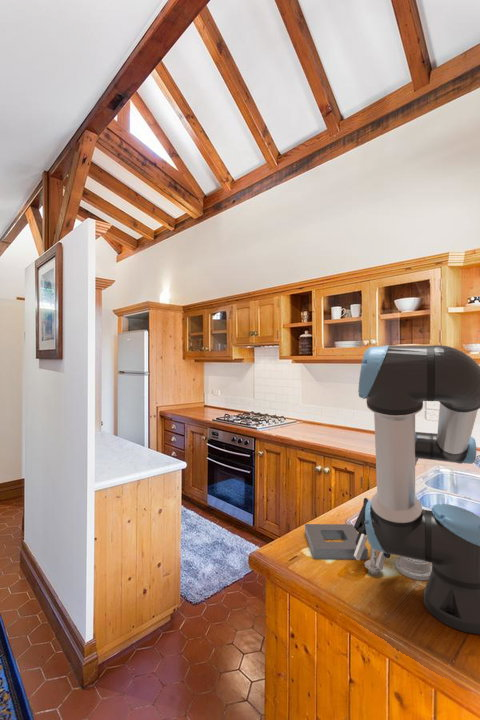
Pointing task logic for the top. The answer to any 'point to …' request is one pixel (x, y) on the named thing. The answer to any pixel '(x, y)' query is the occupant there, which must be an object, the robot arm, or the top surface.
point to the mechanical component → (413, 568)
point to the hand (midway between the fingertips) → (367, 562)
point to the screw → (372, 562)
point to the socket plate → (333, 549)
